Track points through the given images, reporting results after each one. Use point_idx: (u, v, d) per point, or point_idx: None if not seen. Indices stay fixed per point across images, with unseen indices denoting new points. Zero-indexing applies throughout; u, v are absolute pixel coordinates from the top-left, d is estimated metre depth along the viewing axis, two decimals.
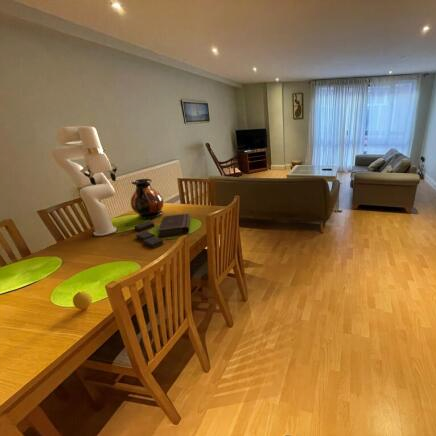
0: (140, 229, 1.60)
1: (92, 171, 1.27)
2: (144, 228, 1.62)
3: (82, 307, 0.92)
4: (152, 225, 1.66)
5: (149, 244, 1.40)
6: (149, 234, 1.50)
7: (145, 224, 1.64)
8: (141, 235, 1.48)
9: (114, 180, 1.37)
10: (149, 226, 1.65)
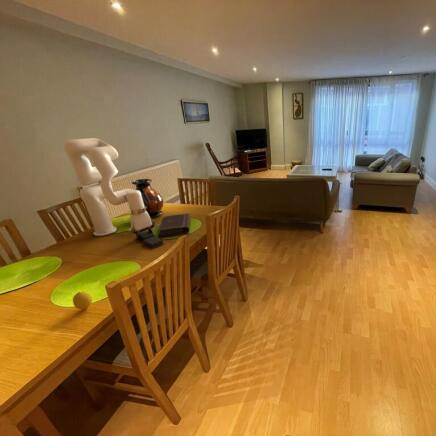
0: None
1: (136, 228, 1.43)
2: (144, 228, 1.62)
3: (82, 307, 0.92)
4: None
5: (149, 244, 1.40)
6: (149, 234, 1.50)
7: None
8: (141, 236, 1.48)
9: None
10: None
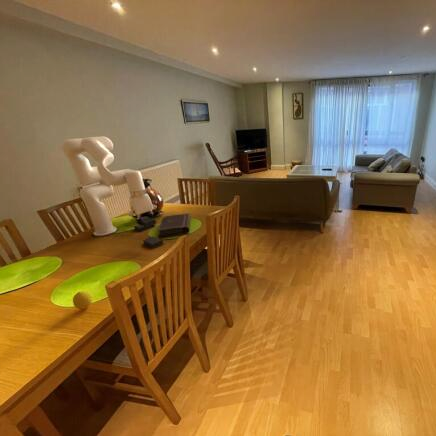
0: (140, 229, 1.60)
1: (136, 212, 1.32)
2: (144, 228, 1.62)
3: (82, 307, 0.92)
4: (152, 225, 1.66)
5: (149, 244, 1.40)
6: (150, 219, 1.39)
7: None
8: (142, 220, 1.37)
9: None
10: (149, 226, 1.65)
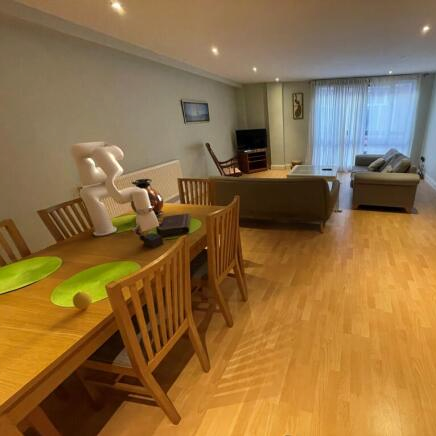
0: None
1: (142, 230, 1.35)
2: None
3: (82, 307, 0.92)
4: None
5: (149, 244, 1.40)
6: (156, 236, 1.41)
7: None
8: (148, 238, 1.39)
9: (160, 234, 1.45)
10: None
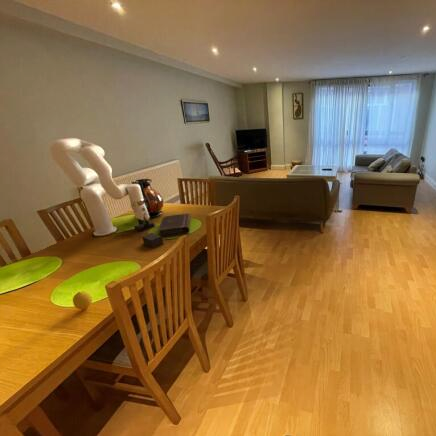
0: (140, 229, 1.60)
1: (135, 216, 1.62)
2: (144, 228, 1.62)
3: (82, 307, 0.92)
4: (152, 225, 1.66)
5: (149, 244, 1.40)
6: (156, 236, 1.41)
7: None
8: (148, 238, 1.39)
9: (145, 228, 1.62)
10: None
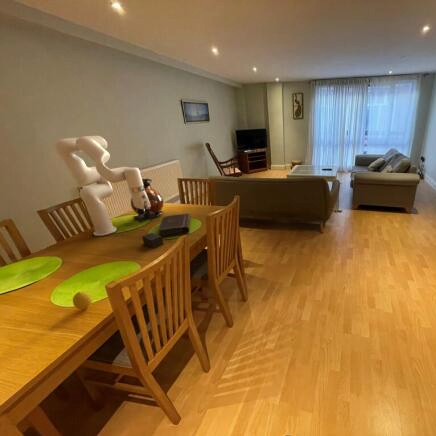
0: (140, 219, 1.40)
1: (134, 205, 1.43)
2: None
3: (82, 307, 0.92)
4: (154, 215, 1.47)
5: (149, 244, 1.40)
6: (156, 236, 1.41)
7: None
8: (148, 238, 1.39)
9: (145, 219, 1.42)
10: None
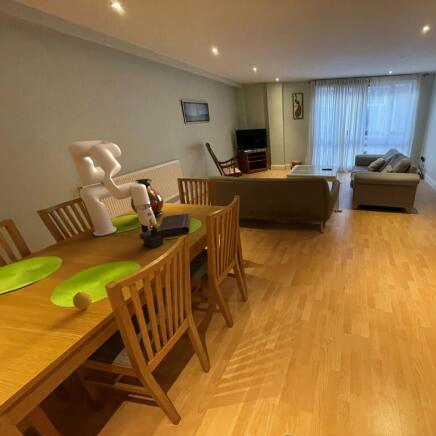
0: (146, 238, 1.36)
1: (139, 222, 1.39)
2: (151, 236, 1.38)
3: (82, 307, 0.92)
4: (160, 233, 1.43)
5: (149, 244, 1.40)
6: None
7: None
8: None
9: (152, 235, 1.37)
10: None
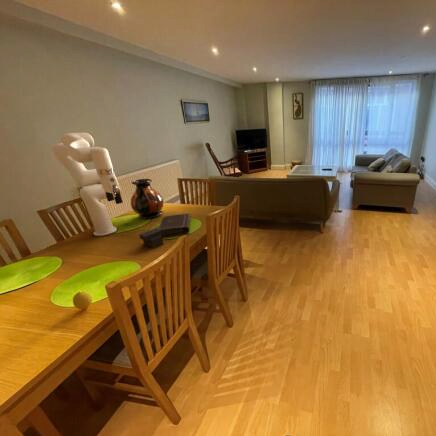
0: (146, 238, 1.36)
1: (103, 189, 1.33)
2: (151, 236, 1.38)
3: (82, 307, 0.92)
4: (160, 233, 1.43)
5: (149, 244, 1.40)
6: None
7: (152, 232, 1.41)
8: None
9: (116, 203, 1.32)
10: (157, 234, 1.41)
